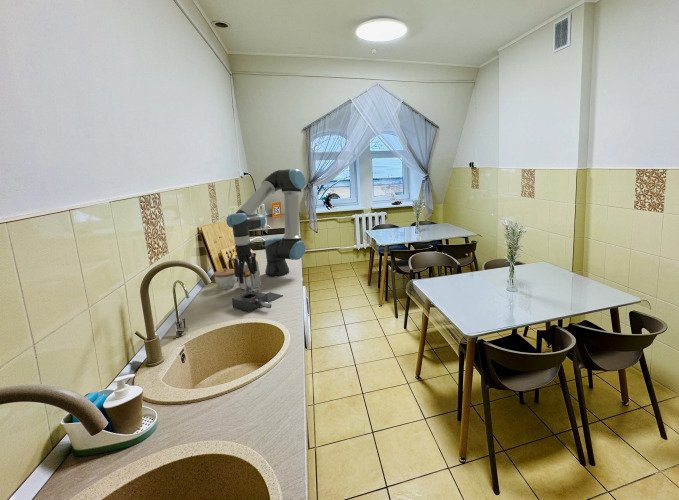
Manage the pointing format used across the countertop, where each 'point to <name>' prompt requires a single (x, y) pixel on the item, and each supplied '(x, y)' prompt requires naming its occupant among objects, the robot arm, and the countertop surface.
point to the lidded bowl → (225, 278)
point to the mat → (273, 296)
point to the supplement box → (257, 276)
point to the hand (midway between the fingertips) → (248, 287)
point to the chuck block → (250, 301)
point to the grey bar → (247, 280)
